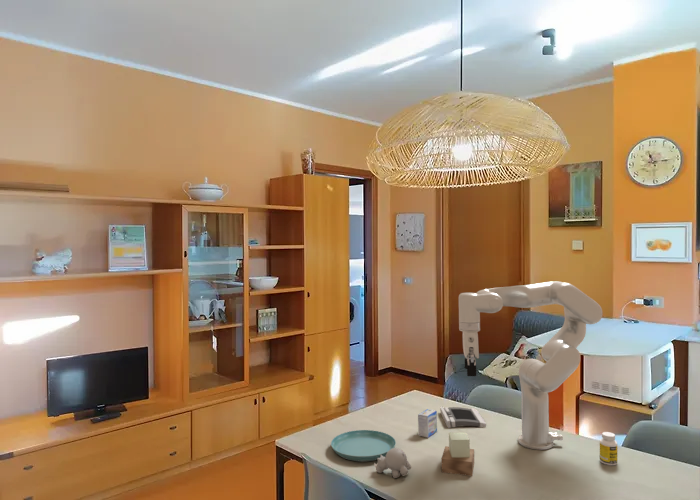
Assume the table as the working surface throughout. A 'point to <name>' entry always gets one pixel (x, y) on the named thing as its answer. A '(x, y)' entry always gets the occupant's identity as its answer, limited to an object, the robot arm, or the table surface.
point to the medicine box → (427, 423)
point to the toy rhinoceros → (394, 462)
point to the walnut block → (457, 463)
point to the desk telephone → (461, 417)
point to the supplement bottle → (608, 449)
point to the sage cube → (459, 445)
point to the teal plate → (362, 445)
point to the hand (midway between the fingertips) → (470, 372)
